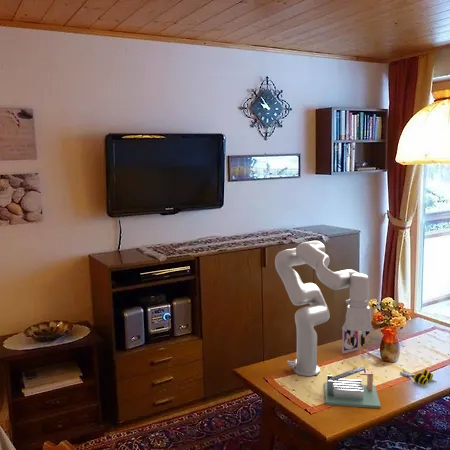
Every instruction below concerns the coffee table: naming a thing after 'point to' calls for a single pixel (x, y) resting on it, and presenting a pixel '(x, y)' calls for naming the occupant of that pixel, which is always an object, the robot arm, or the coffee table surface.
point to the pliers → (410, 375)
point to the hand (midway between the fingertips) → (357, 344)
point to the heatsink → (345, 388)
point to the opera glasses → (423, 377)
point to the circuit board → (368, 399)
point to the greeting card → (346, 342)
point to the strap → (348, 373)
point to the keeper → (368, 378)
